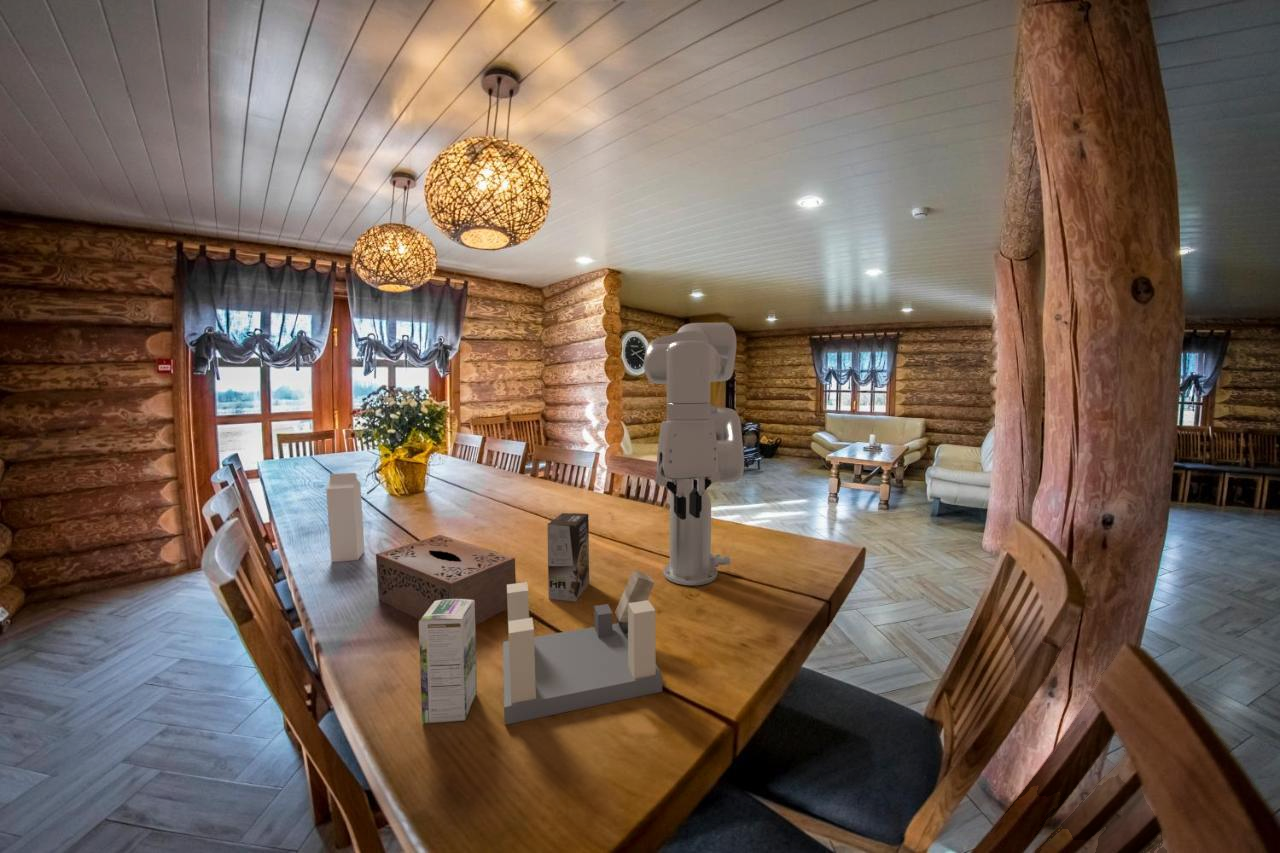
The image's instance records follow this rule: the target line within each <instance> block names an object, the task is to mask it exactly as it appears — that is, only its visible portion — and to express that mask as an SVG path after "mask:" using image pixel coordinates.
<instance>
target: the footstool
mask: <svg viewBox="0 0 1280 853" xmlns="http://www.w3.org/2000/svg"><path fill="white" fill-rule="evenodd" d="M529 598H530V597H529V586H528V582H527V581H525V582H516V584H508V585H507V606H508V609H507V627H508V628H507V630H508V633H507V634H508V636H507V637H508V640H507V641H502V650H503V651H502V652H503V653H502V657H503V658H502V659H503V672H502V673H503V712H504V714H503V715H504V726H506V725H511V724H516V723H520V722H525V721H526V722H527V721H530V720H535V719H540V718H543V717H545V718H546V717H549V716H553V715H558V714H563V713H567V712H572V711H577V710H582V709H586V708H591V707H595V706H596V707H597V706H600V705H606V704H610V703H615V702H618V701H619V702H620V701H624V700H629V699H634V698H639V697H643V696H648V695H653V694H658V693H662V692H663V674H662V673H661V671H660V669H659V667H658V665H657V663H656V609H655V607H654V606H653V605H652V603H651V602H650V600H648V599H647V601H640V602H633V603H628V633H624V632H623V631H622V630H621V628H620V626H619V624H618V622H616V623H613V611H612V609H611V608H610V606H609V605H610V604H608V603H607V604H600V605H594V608H593V609H594V610H593V611H594V612H593V613H594V614H593V615H594V627H588V628H587V627H586V628H580V629H574V630H567V631H561V632H555V633H549V634H544V635H537V636H536V635H535V627H534V621H533V617H530V606H529V605H530V604H529V603H530V600H529Z"/></svg>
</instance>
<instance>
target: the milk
mask: <svg viewBox="0 0 1280 853" xmlns="http://www.w3.org/2000/svg"><path fill="white" fill-rule="evenodd" d="M328 481H329V482H328V484H327V486H326V488H325V490H326V492H325V493H326V504H327V506H326V507H327V517H328V518H327V520H328V531H329V535H328V536H329V545H330V546H329V547H330V560H331V563H338V562H348V561H349V562H350V561H358V560H359V559H360V558H361V557H362V556H363V554H364V553H365V552H366V550H365V537H364V536H365V534H364V520H363V505H362V490H361V482H360V481H359V479H358V478H357V473H355V472H348V473H346V472H345V473H331V474H330V475H329V480H328Z"/></svg>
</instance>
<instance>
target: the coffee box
mask: <svg viewBox="0 0 1280 853" xmlns="http://www.w3.org/2000/svg"><path fill="white" fill-rule="evenodd" d="M589 516H590V515H589V513H575V512H574V513H571V512H570V513H569V512H568V513H566V512H562V513H560V514H559V515H558V516H557V517H555V518H554V519H553V520H551V521H550V522H548V523H547V565H548V566H547V569H548V570H547V572H548V573H547V574H548V575H547V577H548V578H547V579H548V581H547V582H548V599H549V600H557V601H565V602H566V601H567V602H573V603H574V602H577V601H578V600H579V598H580V597H581V596H582V594H583V593H584V591H585V590H586V588H588V586H589V585H590V543H589V542H590V541H589V540H590V537H589V535H590V534H589V532H590V531H589V530H590V529H589V528H590V526H589V522H590V521H589Z"/></svg>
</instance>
